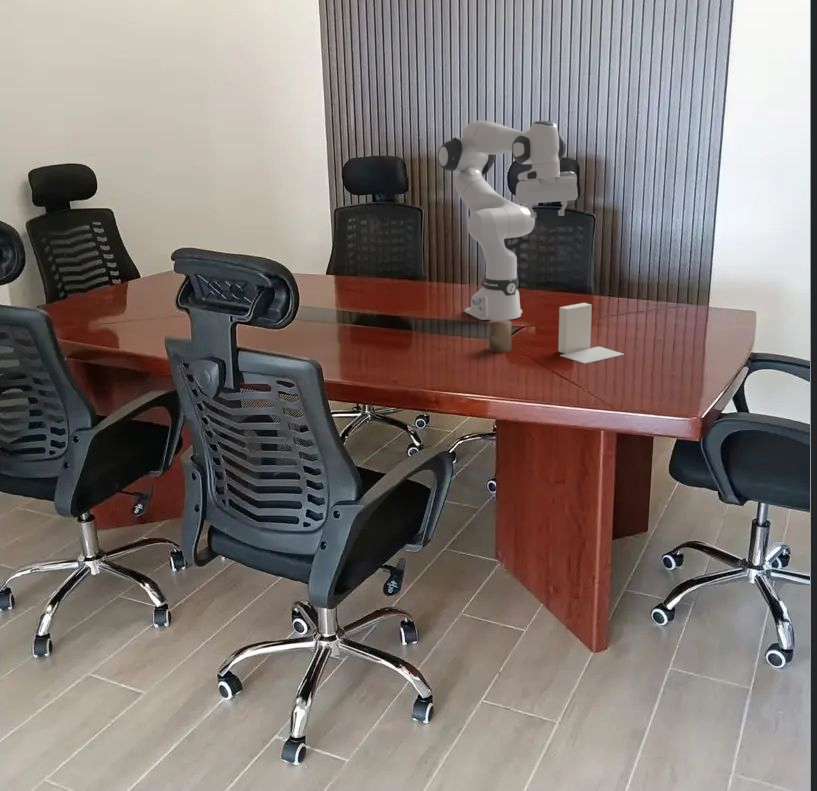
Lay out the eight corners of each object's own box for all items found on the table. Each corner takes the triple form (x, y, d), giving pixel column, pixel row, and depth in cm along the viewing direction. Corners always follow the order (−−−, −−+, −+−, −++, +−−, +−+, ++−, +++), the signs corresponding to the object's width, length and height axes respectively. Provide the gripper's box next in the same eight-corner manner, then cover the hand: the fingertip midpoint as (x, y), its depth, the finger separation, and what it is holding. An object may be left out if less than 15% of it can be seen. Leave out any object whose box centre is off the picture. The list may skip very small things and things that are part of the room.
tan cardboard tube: (484, 349, 278) (484, 321, 276) (501, 345, 282) (502, 318, 279) (497, 353, 273) (497, 325, 270) (515, 350, 276) (515, 322, 273)
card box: (558, 351, 273) (559, 307, 269) (582, 346, 278) (584, 302, 274) (565, 353, 271) (567, 309, 266) (590, 348, 275) (591, 304, 271)
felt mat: (560, 355, 268) (560, 354, 268) (599, 347, 276) (599, 346, 276) (584, 364, 260) (584, 363, 259) (624, 354, 267) (624, 354, 267)
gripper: (572, 171, 288) (574, 214, 291) (513, 175, 285) (514, 218, 288) (580, 170, 282) (581, 214, 285) (519, 174, 279) (520, 219, 282)
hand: (547, 216), depth 287 cm, fingers open, 8 cm apart
